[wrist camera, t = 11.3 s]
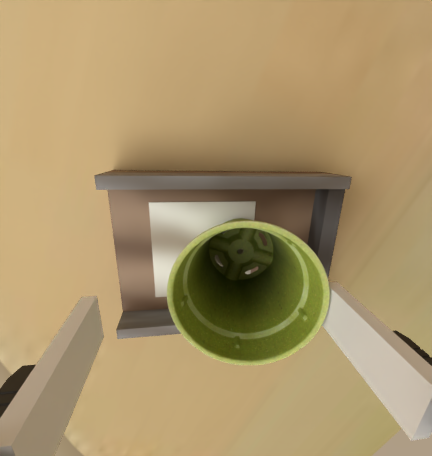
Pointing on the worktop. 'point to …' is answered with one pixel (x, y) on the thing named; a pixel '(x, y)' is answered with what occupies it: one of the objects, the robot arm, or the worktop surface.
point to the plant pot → (248, 293)
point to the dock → (204, 225)
